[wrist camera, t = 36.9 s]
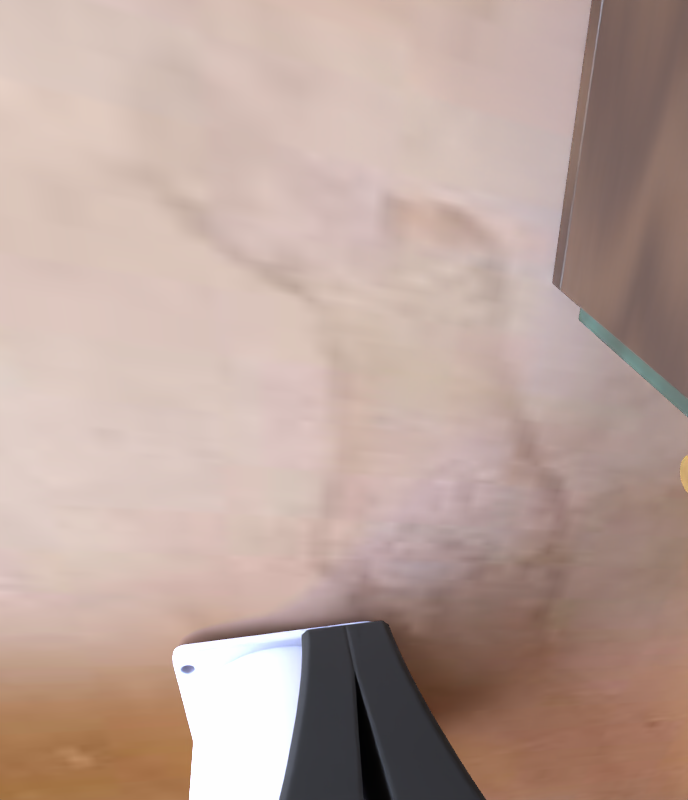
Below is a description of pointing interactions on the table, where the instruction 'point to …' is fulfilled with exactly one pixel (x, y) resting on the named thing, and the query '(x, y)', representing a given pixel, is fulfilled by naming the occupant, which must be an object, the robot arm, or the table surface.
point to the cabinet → (632, 183)
